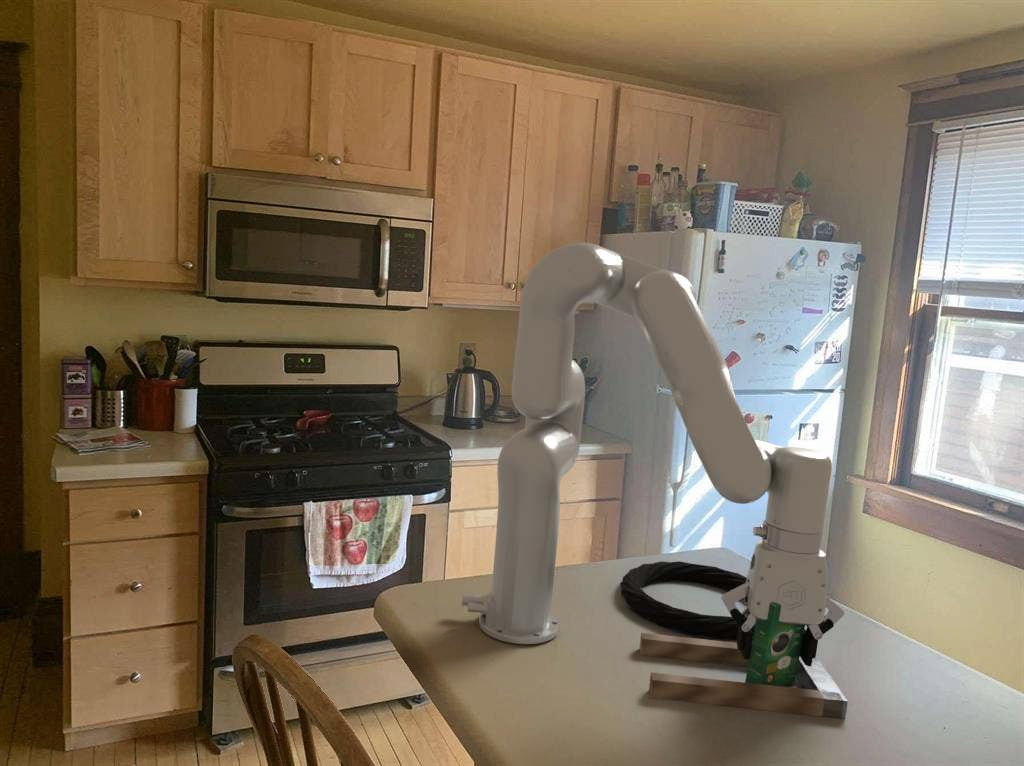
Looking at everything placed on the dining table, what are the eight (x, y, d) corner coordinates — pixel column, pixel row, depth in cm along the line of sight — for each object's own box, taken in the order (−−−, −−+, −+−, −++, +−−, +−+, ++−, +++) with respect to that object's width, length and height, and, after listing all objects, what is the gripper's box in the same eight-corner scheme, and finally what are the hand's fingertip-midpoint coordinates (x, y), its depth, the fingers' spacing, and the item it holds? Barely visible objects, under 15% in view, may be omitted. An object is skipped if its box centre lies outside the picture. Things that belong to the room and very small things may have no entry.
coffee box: (780, 673, 111) (795, 588, 109) (797, 683, 109) (812, 597, 107) (742, 685, 107) (757, 596, 105) (759, 695, 104) (774, 605, 102)
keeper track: (650, 697, 101) (652, 679, 101) (639, 648, 115) (641, 632, 115) (845, 718, 100) (847, 701, 100) (810, 666, 114) (812, 650, 114)
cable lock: (625, 549, 149) (785, 573, 144) (623, 568, 150) (782, 592, 144) (616, 604, 122) (812, 636, 117) (613, 627, 123) (808, 659, 117)
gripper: (734, 540, 102) (718, 664, 104) (867, 554, 101) (847, 678, 103) (722, 523, 109) (707, 639, 111) (845, 535, 108) (828, 652, 110)
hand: (774, 657), depth 107 cm, fingers closed on coffee box, 7 cm apart
